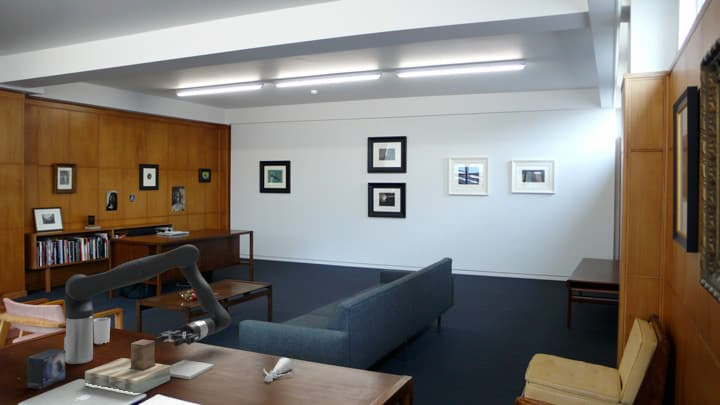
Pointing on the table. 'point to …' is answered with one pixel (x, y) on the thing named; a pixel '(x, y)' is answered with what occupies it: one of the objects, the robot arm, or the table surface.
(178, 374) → the grey pad
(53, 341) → the table surface
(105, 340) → the drinking glass
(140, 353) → the brown wooden block
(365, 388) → the table surface
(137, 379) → the slotted wooden base
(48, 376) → the small box
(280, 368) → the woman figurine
